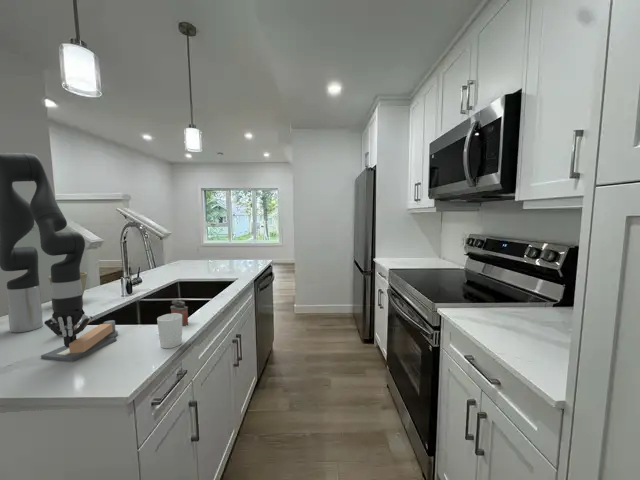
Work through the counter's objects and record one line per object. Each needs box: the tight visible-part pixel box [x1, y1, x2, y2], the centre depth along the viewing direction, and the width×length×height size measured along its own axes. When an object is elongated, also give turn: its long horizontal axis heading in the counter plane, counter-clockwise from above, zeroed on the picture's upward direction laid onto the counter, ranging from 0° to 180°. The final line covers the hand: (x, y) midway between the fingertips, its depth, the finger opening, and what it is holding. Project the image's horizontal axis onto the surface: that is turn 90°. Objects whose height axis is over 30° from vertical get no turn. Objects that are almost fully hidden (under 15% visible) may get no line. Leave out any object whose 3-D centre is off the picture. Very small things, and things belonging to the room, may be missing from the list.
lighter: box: [170, 300, 189, 327], centre depth 123 cm, size 8×3×10 cm, turn 71°
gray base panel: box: [40, 329, 119, 363], centre depth 104 cm, size 12×22×1 cm, turn 169°
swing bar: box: [69, 319, 116, 353], centre depth 103 cm, size 21×4×4 cm, turn 9°
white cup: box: [156, 313, 183, 349], centre depth 104 cm, size 8×8×10 cm
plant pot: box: [48, 271, 88, 297], centre depth 150 cm, size 15×15×16 cm
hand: (70, 346), depth 96 cm, fingers closed
